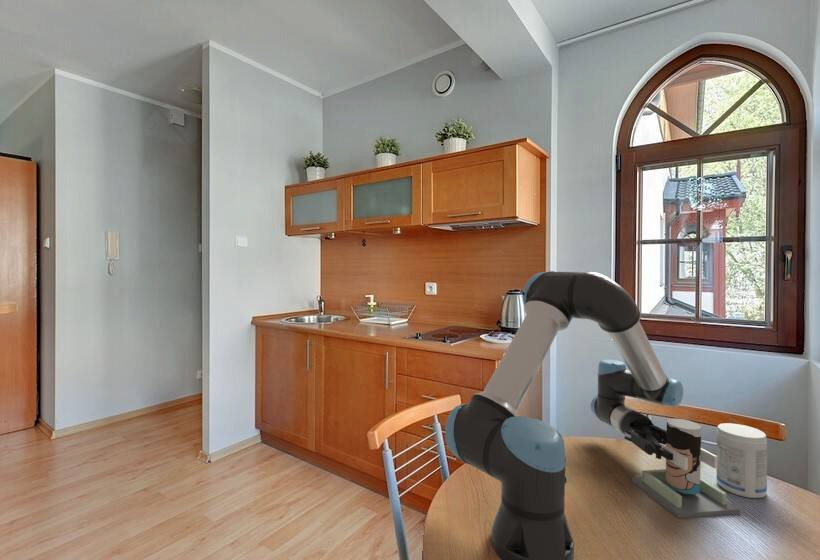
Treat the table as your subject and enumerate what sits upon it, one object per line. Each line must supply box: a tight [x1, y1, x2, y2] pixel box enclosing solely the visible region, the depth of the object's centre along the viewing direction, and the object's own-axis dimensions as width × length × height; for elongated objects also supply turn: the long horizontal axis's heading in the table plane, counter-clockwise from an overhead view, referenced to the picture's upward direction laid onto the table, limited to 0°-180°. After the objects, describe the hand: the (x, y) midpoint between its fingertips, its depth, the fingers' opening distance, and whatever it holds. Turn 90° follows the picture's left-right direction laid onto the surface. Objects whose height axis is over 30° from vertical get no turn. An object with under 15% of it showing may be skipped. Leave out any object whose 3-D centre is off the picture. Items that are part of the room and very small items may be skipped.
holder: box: [631, 468, 741, 519], centre depth 94 cm, size 15×15×4 cm
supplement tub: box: [716, 422, 768, 499], centre depth 97 cm, size 10×10×15 cm
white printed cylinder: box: [665, 418, 702, 494], centre depth 94 cm, size 7×7×15 cm
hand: (701, 463), depth 89 cm, fingers closed on white printed cylinder, 7 cm apart
